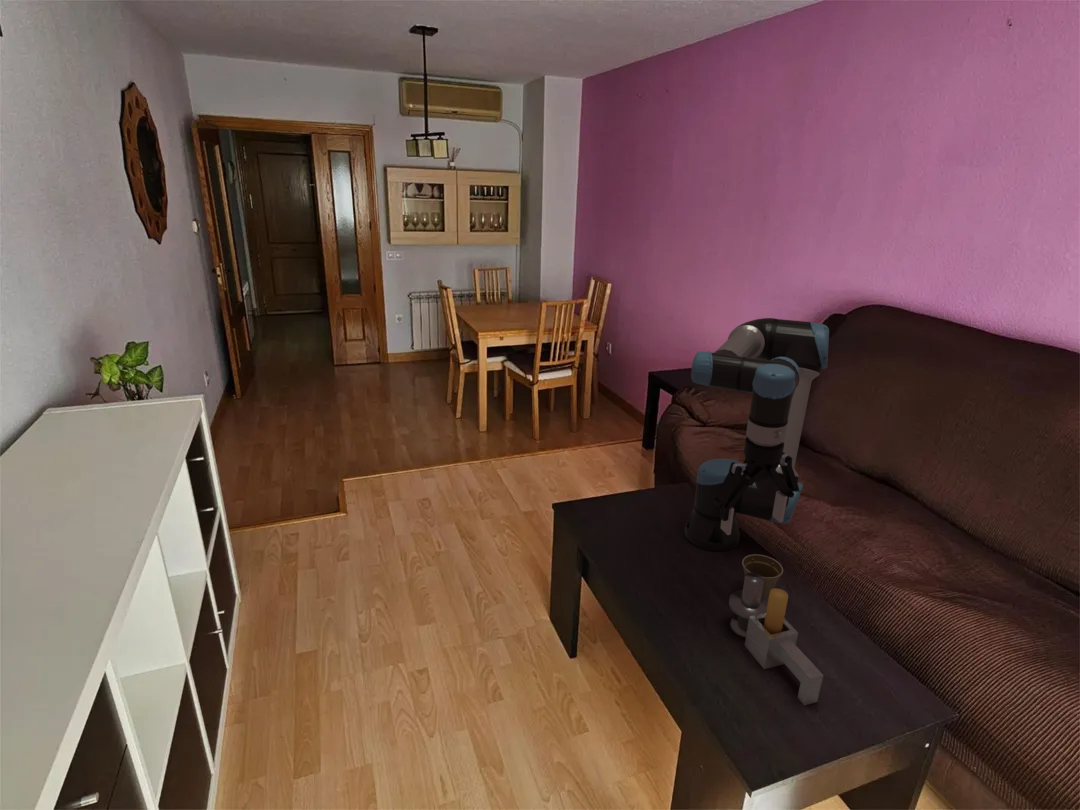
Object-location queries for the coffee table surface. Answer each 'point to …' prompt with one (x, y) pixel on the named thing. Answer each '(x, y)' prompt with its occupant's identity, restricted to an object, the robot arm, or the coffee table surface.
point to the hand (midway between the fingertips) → (751, 525)
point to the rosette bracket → (771, 638)
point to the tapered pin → (775, 611)
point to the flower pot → (763, 570)
